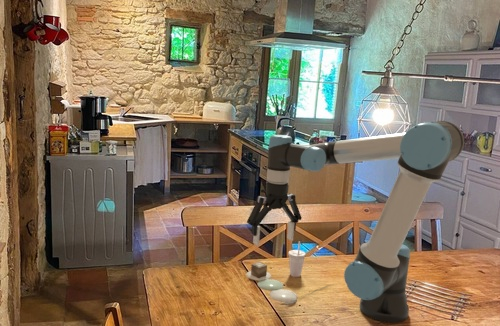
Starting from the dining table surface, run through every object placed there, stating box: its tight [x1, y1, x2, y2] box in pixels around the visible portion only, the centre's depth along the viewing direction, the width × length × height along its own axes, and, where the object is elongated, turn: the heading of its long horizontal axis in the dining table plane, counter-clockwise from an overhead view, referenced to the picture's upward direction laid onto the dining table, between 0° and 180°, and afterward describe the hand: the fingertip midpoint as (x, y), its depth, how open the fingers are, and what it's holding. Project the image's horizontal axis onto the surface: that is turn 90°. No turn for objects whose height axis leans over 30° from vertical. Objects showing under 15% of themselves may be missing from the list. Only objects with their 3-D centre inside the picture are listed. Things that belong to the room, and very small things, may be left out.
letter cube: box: [250, 261, 268, 278], centre depth 168 cm, size 4×4×4 cm
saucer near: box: [269, 288, 298, 306], centre depth 153 cm, size 9×9×1 cm
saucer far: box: [245, 270, 272, 282], centre depth 168 cm, size 9×9×1 cm
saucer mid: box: [257, 278, 284, 292], centre depth 161 cm, size 9×9×1 cm
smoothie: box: [287, 241, 307, 278], centre depth 169 cm, size 6×6×14 cm
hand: (273, 242), depth 158 cm, fingers open, 13 cm apart
